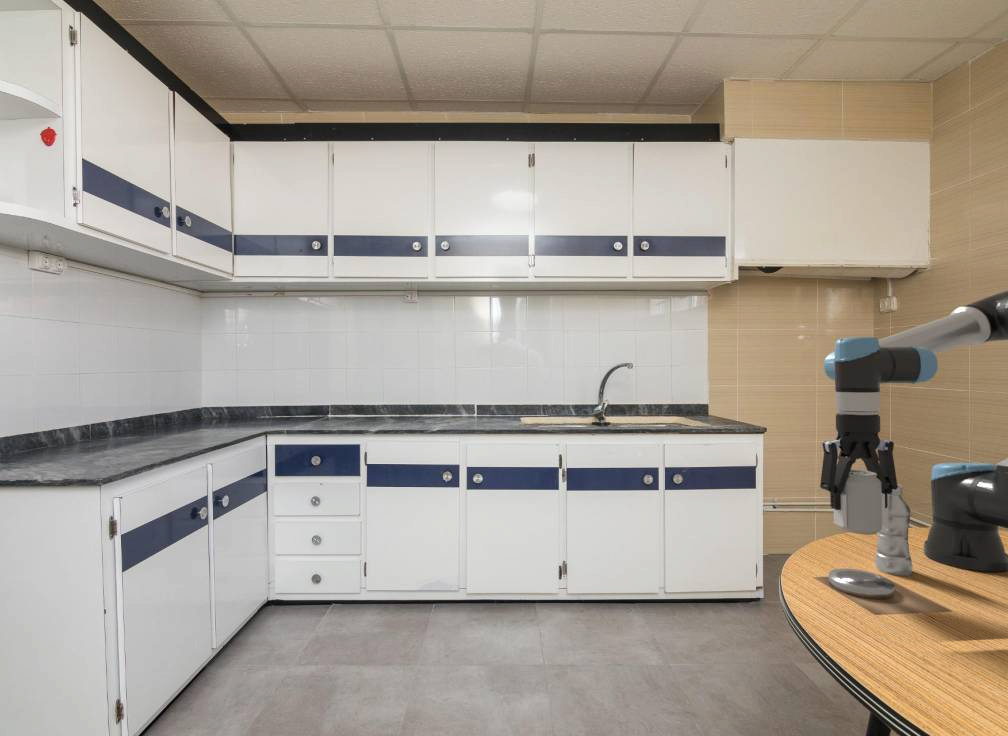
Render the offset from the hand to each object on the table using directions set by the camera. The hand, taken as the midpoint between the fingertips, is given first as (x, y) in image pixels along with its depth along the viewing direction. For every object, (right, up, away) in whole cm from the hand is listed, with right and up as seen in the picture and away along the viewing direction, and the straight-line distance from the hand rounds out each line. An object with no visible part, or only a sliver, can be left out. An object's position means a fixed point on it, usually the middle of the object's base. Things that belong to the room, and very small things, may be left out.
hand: (859, 524), depth 105 cm
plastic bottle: (+14, -14, +9) cm, 22 cm away
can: (0, -1, 0) cm, 1 cm away
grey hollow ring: (0, -13, 0) cm, 13 cm away
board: (+2, -14, -2) cm, 14 cm away
